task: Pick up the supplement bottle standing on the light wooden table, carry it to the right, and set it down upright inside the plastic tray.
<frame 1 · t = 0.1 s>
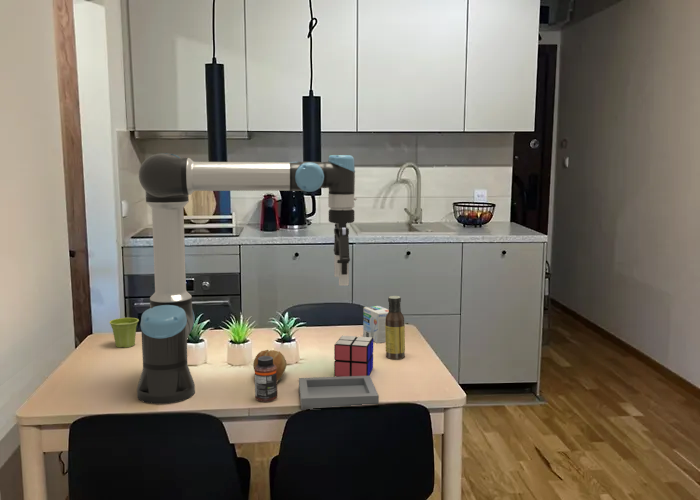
hand: (341, 281, 198), 28 cm above the table, fingers open, 13 cm apart
bread roll: (270, 378, 197), on the table
plant pot: (125, 346, 229), on the table
puzzle cube: (354, 373, 202), on the table
supplement bottle: (266, 399, 180), on the table
sauce bottle: (394, 357, 217), on the table
tray: (337, 397, 181), on the table
light bulb box: (378, 339, 239), on the table
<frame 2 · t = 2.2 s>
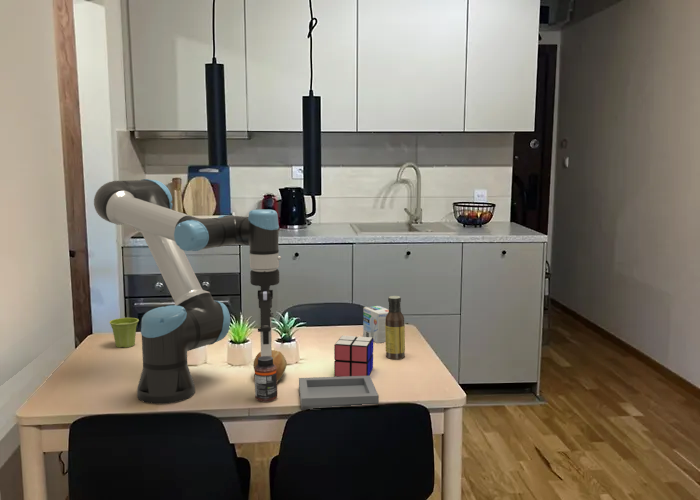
hand: (266, 348, 178), 14 cm above the table, fingers open, 13 cm apart
nothing on the table moved.
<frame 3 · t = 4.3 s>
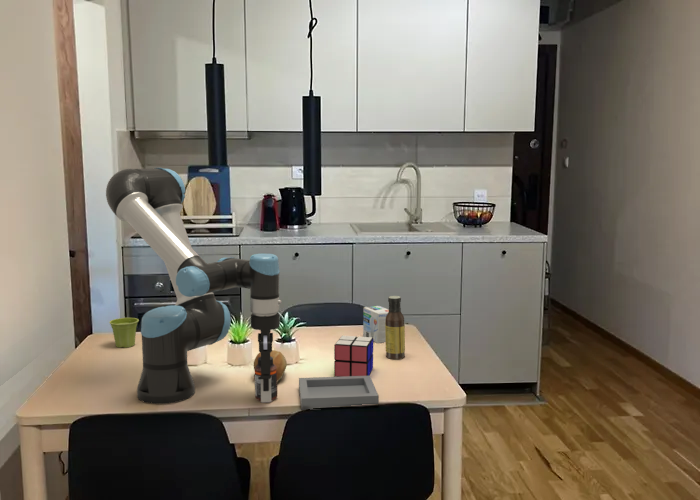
hand: (266, 397, 180), 0 cm above the table, fingers closed on supplement bottle, 6 cm apart
supplement bottle: (266, 399, 180), on the table, touching gripper
everything else where it was.
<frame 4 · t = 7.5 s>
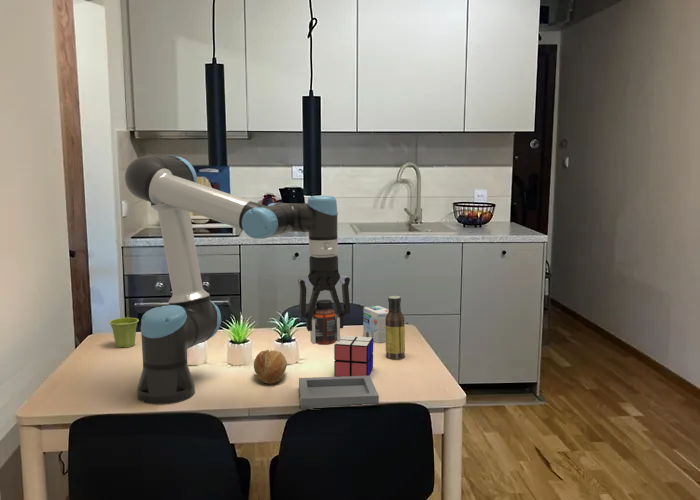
hand: (325, 341, 179), 16 cm above the table, fingers closed on supplement bottle, 6 cm apart
supplement bottle: (325, 343, 179), point 15 cm above the table, touching gripper
everything else where it was.
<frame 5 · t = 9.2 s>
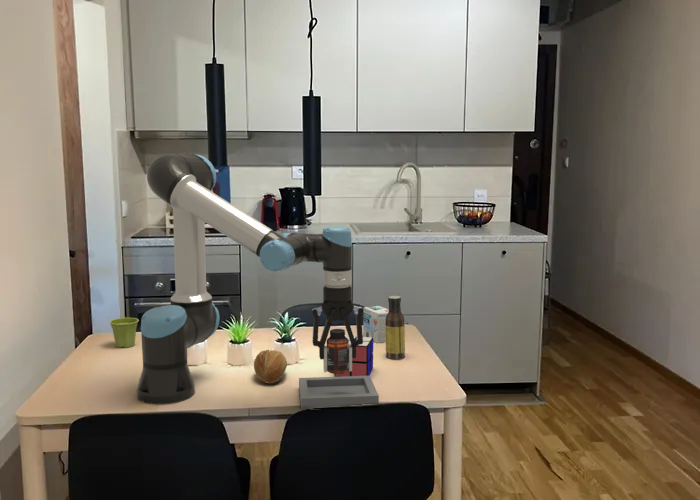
hand: (337, 370, 180), 8 cm above the table, fingers closed on supplement bottle, 6 cm apart
supplement bottle: (337, 372, 180), point 7 cm above the table, touching gripper
everything else where it was.
when the fingers open (3 cm above the table, at t = 10.7 s): supplement bottle drops 2 cm, resting on tray.
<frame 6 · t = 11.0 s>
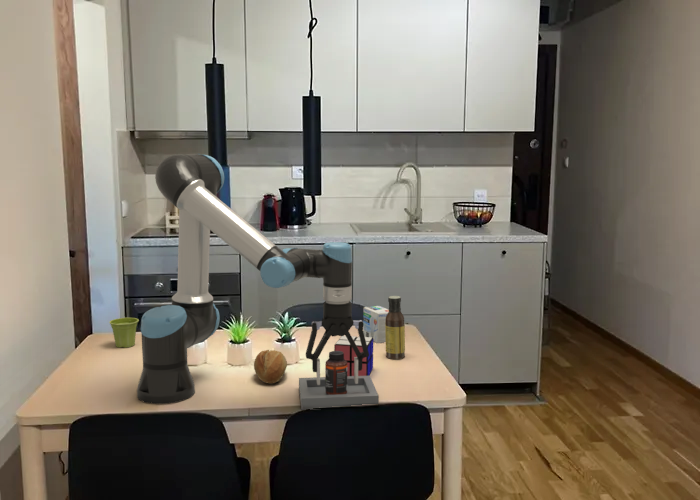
hand: (337, 382, 181), 4 cm above the table, fingers open, 9 cm apart
supplement bottle: (336, 394, 181), point 1 cm above the table, touching tray
everything else where it was.
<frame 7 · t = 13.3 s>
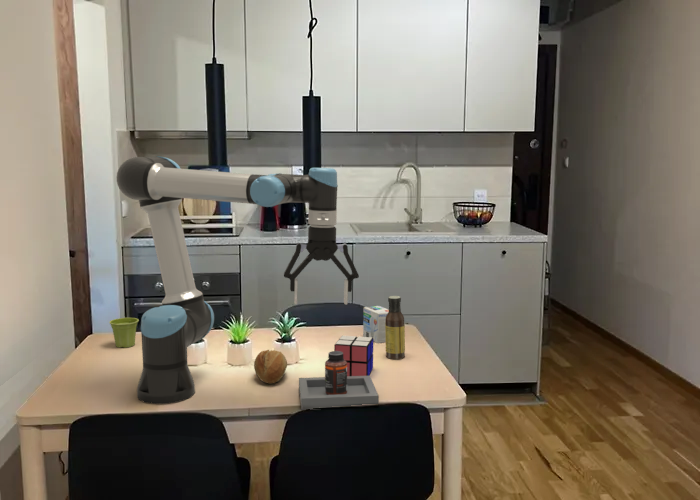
hand: (320, 303, 183), 25 cm above the table, fingers open, 13 cm apart
nothing on the table moved.
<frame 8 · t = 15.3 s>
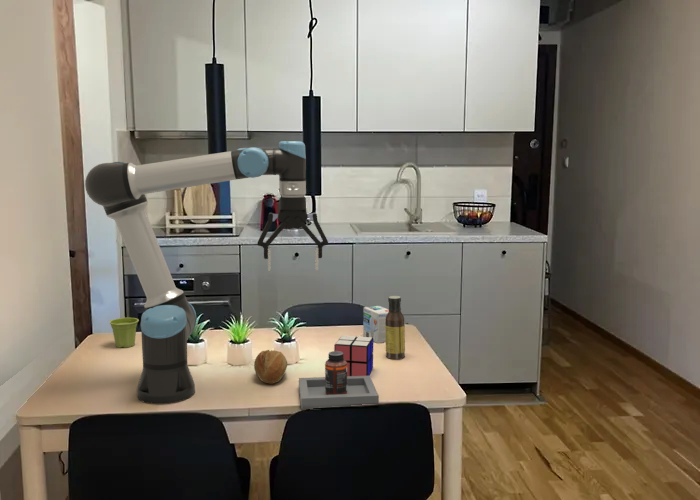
hand: (293, 269, 194), 32 cm above the table, fingers open, 13 cm apart
nothing on the table moved.
at the end: supplement bottle inside the target area on the tray (0.3 cm from its centre), point 0.8 cm above the tray's base; supplement bottle tilted 0°; the gripper is holding nothing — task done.
